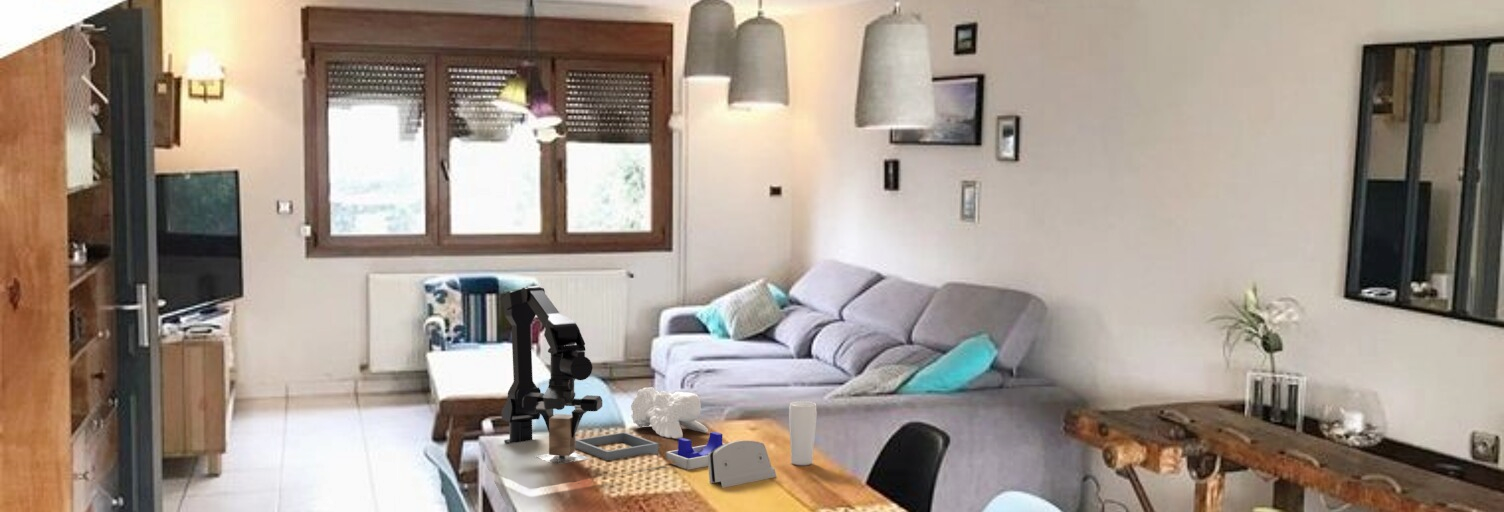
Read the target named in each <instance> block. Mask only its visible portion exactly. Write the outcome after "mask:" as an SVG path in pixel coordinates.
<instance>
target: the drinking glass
mask: <svg viewBox="0 0 1504 512" xmlns="http://www.w3.org/2000/svg"><path fill="white" fill-rule="evenodd" d="M788 407H789V409H788V425H789V440H790V442H789V443H790V462H791V463H792V464H793V465H795V466H801V467H802V466H809V465H812V463H813V461H814V459H813V456H814V455H813V454H814V448H815V447H814V446H815V436H816V427H817V418H818V417H817V415H818V414H817V413H818V412H817V403H816V402H814V401H806V400H798V401H797V400H795V401H791V402H790V403H789V406H788Z"/></svg>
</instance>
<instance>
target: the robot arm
mask: <svg viewBox="0 0 1504 512" xmlns="http://www.w3.org/2000/svg"><path fill="white" fill-rule="evenodd" d="M501 304H502V308H503V312H504V317H505V319H506V320H507V321H508V323H509V324H510V326H511V345H512V371H513V376H512V377H513V382H512V384H511V386H510V388H509V390H508V392H507V399H506V402H505V403H504V406H503V407H502V410H501V413H500V414H501V419H502V420H503V421H504V422H507V423H509V438H508V439H504V440H503V441H504V443H506V444H514V443H515V444H516V443H521V442H527V441H534V439H533V421H534V420H540V417H541V416H542V418H543V420H544V422H545V425H546V428H547V432H549V418H550V417H552V416H553V415H554V410H557V411H558V410H559V411H561V410H563V409H565V406H566V407H574V410H572V411H571V415H572V417H573V418H572V429H571V437H572V438H573V437H574V436H575V437H576V433H577V430H578V428H579V425H580V422H581V420H582V418H583V416H584V415H585V414H586V413H587V412H597V411H599V410H600V409H601V408H603V398H602V397H601V396H600V395H588V394H587V395H585V396H583V397H582V398H575V397H576V392H575V381H576V380H577V381H584V380H587V379H588V378H589V377H590V376H591V374H592V372H593V363H592V361H591V359H590V358H588V357H587V356H586V346H585V345H586V342H585V340H584V338H583V335H582V333H581V329H580V328H579V326H578V324H577V323H576V322H575V321H574V320H573V319H572V318H570V317H569V316H565V315H563V314H561V313H560V311H559V310H558V308H556V306H555V305H554V303H553V302H552V301H551V300H550V298H549V297H548V295H547V294H546V291H545V288H544V287H543V286H540V285H537V286H536V285H535V286H525V287H523V288H521V289H518V290H511V291H510V290H509V291H507V292H506V293H505V295H503V297H502V303H501ZM535 317H537V319H539V321H540V323H541V324H542V325H543V327H544V329H545V330H544V338H545V340H546V342H547V344H548V346H549V348H548V349H547V353H549V354H550V378H549V379H548V380H549V381H548V386H547V389H546V390H545V392H541V389H540V387H537V385H536V384H535V382H534V379H533V361H532V360H533V358H532V357H533V356H532V335H531V334H532V332H531V331H532V330H531V325H532V324H533V321H534V320H535Z"/></svg>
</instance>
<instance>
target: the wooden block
mask: <svg viewBox="0 0 1504 512" xmlns="http://www.w3.org/2000/svg"><path fill="white" fill-rule="evenodd" d="M572 418H573V417H572V414H567V413H566V414H563V413H562V414H561V413H560V414H559V413H555V414H553V416H552V417H550V418H549V431H548V438H549V439H548V454H549V455H560V456H570V455H571V454H572V453H573V452H575V453H576V449H575V440H576V435H575V436H574V437H573V438H572V437H571V429H572Z"/></svg>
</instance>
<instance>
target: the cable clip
mask: <svg viewBox="0 0 1504 512" xmlns="http://www.w3.org/2000/svg"><path fill="white" fill-rule="evenodd" d="M677 441H678V442H677V445H678V446H677V450H678V455H679V456H682V457H685V458H688V459H689V458H695V457H701V456H706V455H708V454H709V453H710V452H712V451H713V450H715V449H716V448H718V447H720V446H722V443H723V433H720V432H717V431H712V432H709V436H708V441H707V443H706V444H705V445H706V446H705V448H704V449H703V450H702V451H700V452H694V450H693V448H692V447H693V446H692V440H691V439H687V438H684V437H682V438H678V439H677Z"/></svg>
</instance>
